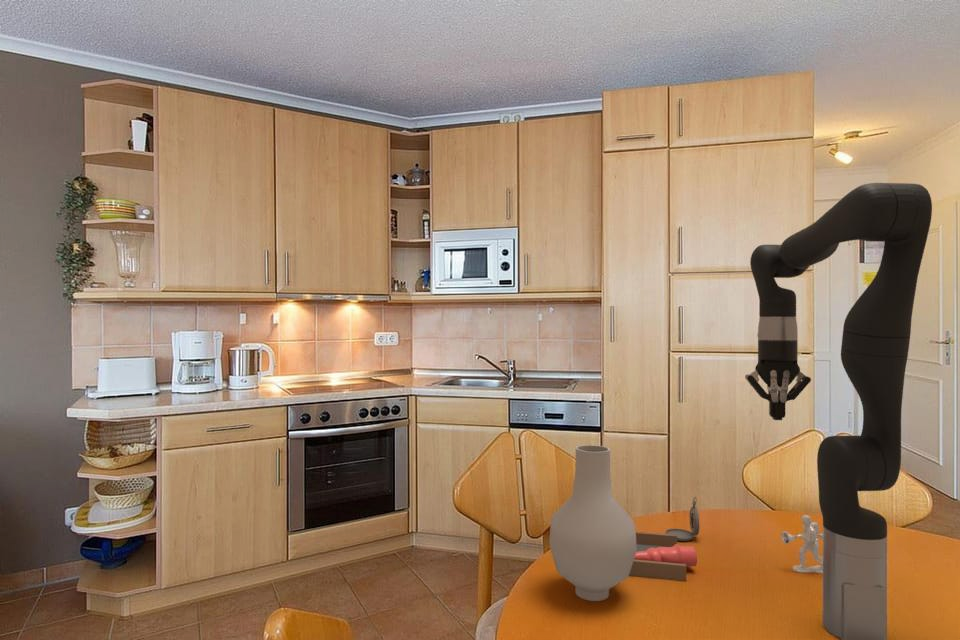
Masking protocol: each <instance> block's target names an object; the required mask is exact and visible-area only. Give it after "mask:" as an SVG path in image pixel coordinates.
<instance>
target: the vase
mask: <svg viewBox="0 0 960 640" xmlns="http://www.w3.org/2000/svg"><path fill="white" fill-rule="evenodd" d="M574 465H575V468H574V469H575V471H574V480H573V486H572V493H571V496H570V497H569V498H568V499H567V500H566V501H565V502H564V503H563V504H562V505H561V506H560V507H559V508H558V509H557V510H556V511H555V512H554V514H552V516H550V527H549V528H550V530H549V540H548V541H549V548H550V552H551V556H552V559H553V562H554V566H555V570H556V571H557V572H558V574H559V575H560V577H561V576H562V578H564V579H565V580H567V581H568V583H571V584H572V585H573V586H575V589H574V590H575V595H576V596H577V597H578V598H580V599H581V600H585V601H591V602H600V601H604V600H606V599H608V598H609V596H610V589H612V588H614V587H615V586H616V585H618V584H620V583H621V582H623V581H626V580H627V579H628V577H629V576H630V575H629V574H630V570H631V567H632V564H633V561H634V557H635V554H636V551H637V546H636V532H637V530H636V524H635V522H634V520H633V518H632V517H631V516H630V515H629V514H628V513H627V511H625V509H624V508H623V507H622V505H620V504H619V502H618V501H617V500H616V499H615V497H614V495H613V487H612V486H613V485H612V479H611V478H612V477H611V449H610V448H609V447H608V446H607V447H606V446H603V445H595V444H593V445H592V444H585V445H578V446H575V464H574Z"/></svg>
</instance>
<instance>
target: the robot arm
mask: <svg viewBox="0 0 960 640" xmlns="http://www.w3.org/2000/svg"><path fill="white" fill-rule="evenodd" d="M932 213H933V203H932V198H931V195H930V193H929V191H928V189H927V188H926V187H925V186H923V185H921V184H919V183H906V182H905V183H904V182H903V183H901V182H896V183H895V182H870V183H865V184H862V185H859V186H857V187H856V188H854V189H852V190H851V191H850V192H848V193H847V194H846V195H844V196H843V197H842V198H841V199H840V200H839V201H837V202H836V203H835V204H834V205H833V206H832V207H831V208H830V209H828V210H827V211H826V212H825V213H824V214H822V216H820V217H819V218H818V219H817V220H816V221H815V222H813V223H812V224H810V225H808V226H807V227H805V228H803V229H801V230H799V231H797V232H795V233H793V234H792V235H790V236H788V237H787V238H785V239H784V240H783V242H782V243H781V244H760V245H758V246H757V247H755V249H754V250H753V251H752V253H751V256H750V262H749V263H750V269H751V273H752V276H753V279H754V283H755V286H756V291H757V293H758V294H757V295H758V302H759V304H758V306H759V313H758V314H759V318H758V327H757V364H756V366H755V368H754V369H755V370H753V371H752V372H750V374H746V375H745V377H744V378H745V380H746V381H747V382H748V384H749V385H750V386H751V387H752V388H753V389H754V391H755V392H756V393H757V394H758V396H759V397H761V398H762V399H764V400H767V401H768V408H769V409H768V415H769V417H771V418H772V420H774V421H782V420H783V419H784V418H785V417H786V403H787V402H788V401H794V400H796V398H797V397H799V395H800V394H801V393H802V391H804V390H805V389H806V387H807V386H808V385H809V384H810V383H811V381H812V379H811V377H810V376H807V375H806V374H804V373H803V372H801V368H800V366H799V364H798V356H799V355H798V346H799V345H798V338H799V337H798V334H799V332H798V330H799V329H798V322H797V294H796V292H795V291H794V290H792V289H790V288H789V289H788V288H784V287H781V286H779V285H778V283H777V281H776V279H777V278H779V279H785V278H786V279H789V278H796V277H799V276H801V275H803V274H804V273H805V272H806V271H807V270H808V268H809V267H810V266H813V265H816V264H818V263H821V262H823V261H825V260H827V259H828V258H830V257H831V256H832V255H834V254H835V252H836V251H837V250H838V247H839V245H840V243H844V242H850V241H865V242H883V243H884V244H883V245H884V246H883V251H882V256H881V261H880V264H879V268H878V270H877V272H876V274H875V276H874V278H873V279H872V281H871V282H870V284H869V285H868V286H867V288H865V289H864V291H863V292H862V293H861V295H860V296H859V298H858V299H857V300H856V301H855V303H854V304H853V305H852V307H851V308H850V309H849V312H848V313H847V315H846V317H845V319H844V322H843V330H842V337H841V348H840V361H841V363H842V367H843V368H844V371H845V373H846V375H847V377H848V379H849V381H850V382H851V384H852V386H853V387H854V389H855V391H856V393H857V395H858V397H859V400H860V402H861V405H862V411H863V412H862V413H863V414H862V417H863V419H862V430H861V434H860V435H831V436H827V437H825V438H823V440H822V441H821V442H820V444H819V447H818V449H817V453H816V455H817V458H816V465H817V466H816V469H817V470H816V471H817V481H818V483H817V484H818V502H819V503H818V504H819V507H820V512H821V515H822V534H823V539H822V558H823V574H822V626H823V628H824V629H825V630H826V631H827V632H829V634H831V635H833V636H834V637H836V638H839V639H841V640H887V639H888V619H887V618H888V523H887V520H886V518H885V517H884V516H883V515H881V514H879V513H877V512H876V511H874V510H871V509H867V508H866V507H862V506H861V505H860V500H859V493H858V492H877V491H878V492H880V491H887V490H890V489H891V488H893V487H894V486H895V485H896V483H897V481H898V479H899V477H900V472H901V465H902V463H901V462H902V408H903V407H902V406H903V395H904V385H905V384H904V383H905V375H906V367H907V363H908V356H909V350H910V348H909V347H910V341H911V331H912V329H911V328H912V320H913V309H914V303H915V297H916V289H917V283H918V278H919V277H918V276H919V274H920V269H921V265H922V260H923V257H924V253H925V248H926V244H927V240H928V236H929V232H930V227H931V222H932V217H933V216H932V215H933V214H932ZM775 278H776V279H775ZM760 378H761V380H762V381H763V382H764V384H766V388H767V392H766V391H765V389H764V388H763V387H762V385H761V384H760V383H759V381H760ZM793 381H796V383H795V384H794V385H793V387H791V389H789V386H790V385H791V384H792V382H793Z"/></svg>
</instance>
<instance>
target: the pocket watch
mask: <svg viewBox="0 0 960 640" xmlns="http://www.w3.org/2000/svg"><path fill="white" fill-rule="evenodd" d="M697 500H698V499H697V497H695V496H694V497H693V499H692V506H691V507H690V510H689V527H690V530H686V529H683V528H669V529H666V530H665V532H664V534H673V535H677V542H679V541H680V542H688V541H692V540H694V537H695V536H698V535H699V533H700V515H699V510H698V508H697V507H696V504H697V502H698V501H697Z"/></svg>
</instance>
